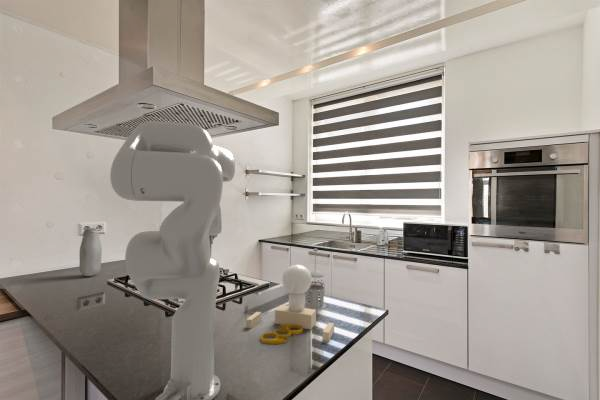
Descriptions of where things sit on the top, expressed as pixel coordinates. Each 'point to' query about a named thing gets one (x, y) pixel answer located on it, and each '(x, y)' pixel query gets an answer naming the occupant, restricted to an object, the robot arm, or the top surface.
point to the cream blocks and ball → (295, 303)
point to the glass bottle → (90, 252)
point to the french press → (315, 291)
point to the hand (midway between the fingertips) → (205, 257)
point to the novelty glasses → (280, 338)
